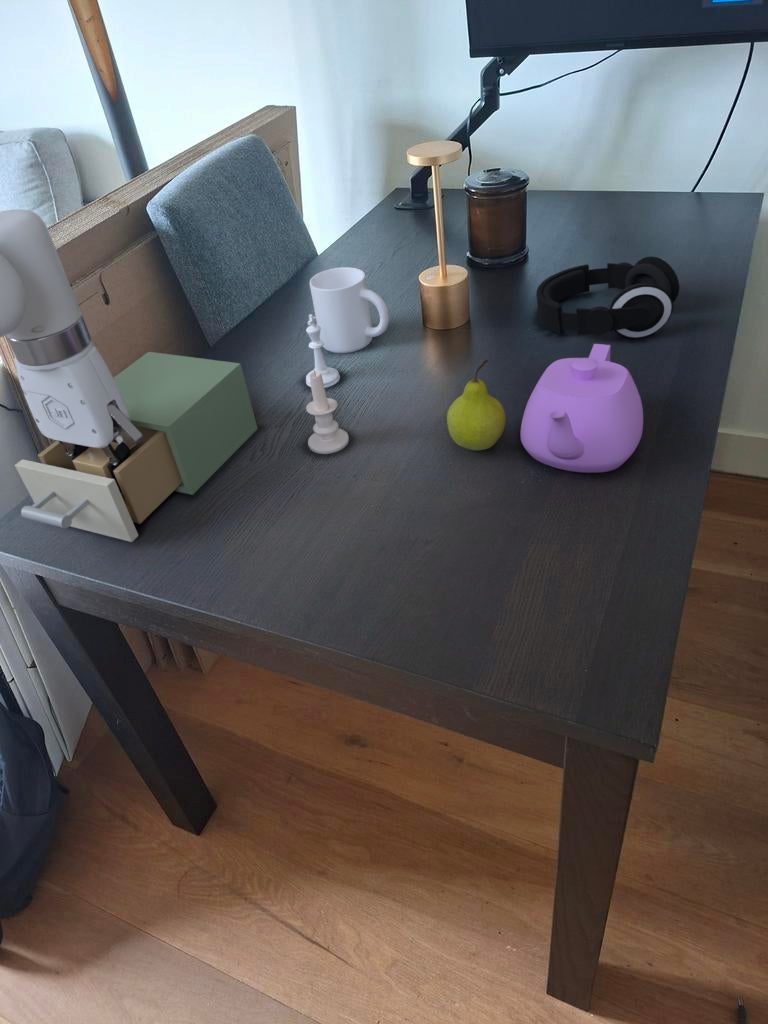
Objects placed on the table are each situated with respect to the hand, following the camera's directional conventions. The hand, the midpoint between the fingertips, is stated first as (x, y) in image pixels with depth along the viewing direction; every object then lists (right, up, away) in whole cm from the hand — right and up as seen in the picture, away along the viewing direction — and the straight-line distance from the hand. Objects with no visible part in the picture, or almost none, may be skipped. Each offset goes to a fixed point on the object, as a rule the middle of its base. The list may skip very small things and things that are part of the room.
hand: (111, 480), depth 89 cm
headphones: (+65, +25, +26) cm, 74 cm away
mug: (+28, +22, +28) cm, 45 cm away
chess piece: (+23, +15, +21) cm, 35 cm away
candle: (+25, +5, +8) cm, 27 cm away
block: (0, 0, 0) cm, 1 cm away
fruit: (+43, +4, +4) cm, 44 cm away
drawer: (0, -3, +1) cm, 3 cm away
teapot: (+55, +4, 0) cm, 55 cm away
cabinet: (+5, +4, +10) cm, 12 cm away
